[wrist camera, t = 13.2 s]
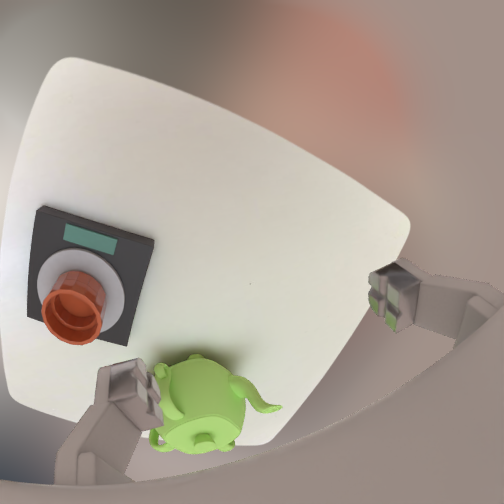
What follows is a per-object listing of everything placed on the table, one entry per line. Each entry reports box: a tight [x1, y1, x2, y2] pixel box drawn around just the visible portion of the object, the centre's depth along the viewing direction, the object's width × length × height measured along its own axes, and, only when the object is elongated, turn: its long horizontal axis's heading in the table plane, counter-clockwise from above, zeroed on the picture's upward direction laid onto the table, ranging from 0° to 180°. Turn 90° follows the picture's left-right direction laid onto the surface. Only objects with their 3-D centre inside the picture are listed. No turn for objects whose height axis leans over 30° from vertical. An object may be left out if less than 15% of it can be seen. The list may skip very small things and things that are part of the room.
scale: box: [27, 206, 154, 346], centre depth 29 cm, size 14×14×3 cm
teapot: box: [149, 354, 282, 454], centre depth 35 cm, size 16×14×13 cm
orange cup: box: [41, 271, 107, 345], centre depth 26 cm, size 7×7×5 cm
